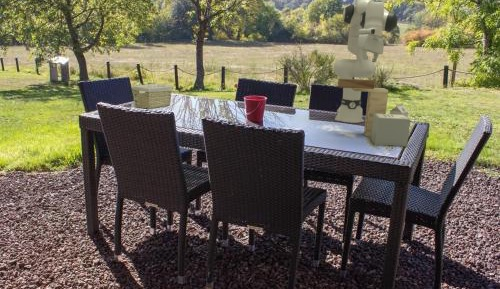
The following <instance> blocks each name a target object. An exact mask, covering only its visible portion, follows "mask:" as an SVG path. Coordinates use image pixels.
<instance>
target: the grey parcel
mask: <svg viewBox="0 0 500 289" xmlns="http://www.w3.org/2000/svg"><path fill="white" fill-rule="evenodd" d="M405 117H406V116H405ZM406 118H407V117H406ZM410 126H411V119H410V118H409V117H408V119H392V118H380V117H378V116H377V115H376V114H374V115H373V124H372V134H371V137H370V140H371V141H372V143H373V144H374V145H376V146H388V145H393V146H392V147H408V143H409V142H408V141H409V133H410Z"/></svg>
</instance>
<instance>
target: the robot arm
mask: <svg viewBox="0 0 500 289" xmlns="http://www.w3.org/2000/svg"><path fill="white" fill-rule="evenodd" d="M342 20H343V23H345V24H348V25H349V24H350V26H349V29H348V36H347V37H348V38H347V50H348V52H349V53H351V54H352V55H355V58H356V59H353V58H352V59H350V58H348V59H347V58H343V59H342V58H341V59H337V60H336V61H335V62H334V64H333V72H334V74H335V75H336V76H337V77H338V79H354V78H359V79H360V78H361V79H367V78H372V77H373V76H374V75H375V73H376V64H375V63H377V60H378V58H379V55H383V54H384V45H385V44H384V43H385V42H384V39H383V37H382V35H383V34H382V33H383V32H389V33H391V32H392V31H394V30H395V29H396V27H397V25H398V16H397V14H396V12H394V11H390V10H389V9H388V8H386V7H385V3H384V1H383V0H356V2H355V4H353V3H350V5H347V6H346V7H344V9H343V11H342ZM367 53H371V54H373V57H372V59H370V57H369V56H368V54H367ZM361 96H362V91H354V90H353V89H352V88H342V99H341V103H340V105H339V107H338V109H336V113H337V115H336V116H335V118H334V121H337V122H338V121H339V122H342V123H343V122H344V123H351V124H354V123H365V119H363V108H362V107H361V106H362V105H361V104H362V99H361Z"/></svg>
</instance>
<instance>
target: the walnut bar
mask: <svg viewBox="0 0 500 289" xmlns="http://www.w3.org/2000/svg"><path fill="white" fill-rule="evenodd" d="M337 81H338V82H337V88H338V89H339V88H341V89H343V88H359V89H374V88H375V83H376V82H375V81H376V80H373V79H360V78H359V79H357V78H356V79H355V78H352V79H340V78H338V80H337Z"/></svg>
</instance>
